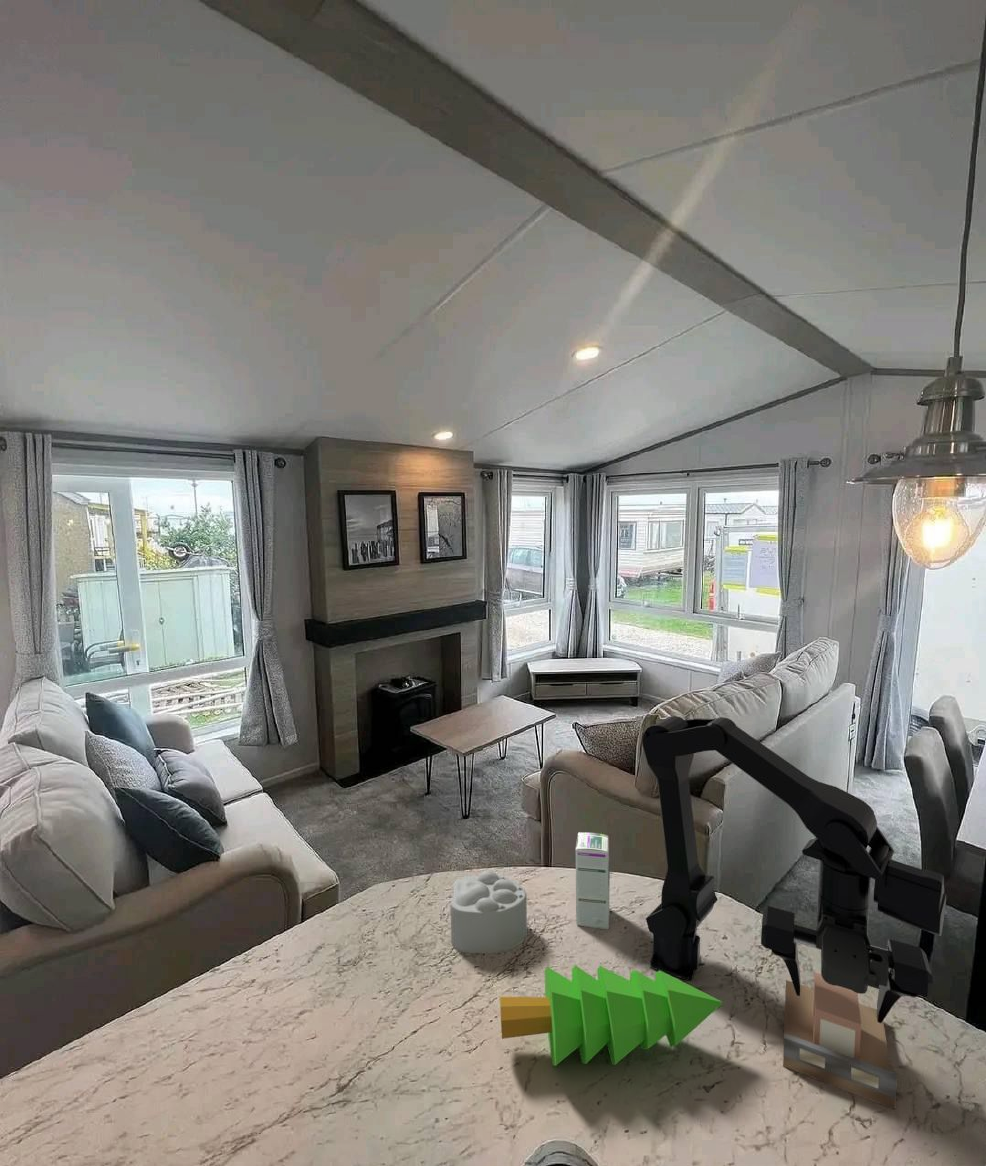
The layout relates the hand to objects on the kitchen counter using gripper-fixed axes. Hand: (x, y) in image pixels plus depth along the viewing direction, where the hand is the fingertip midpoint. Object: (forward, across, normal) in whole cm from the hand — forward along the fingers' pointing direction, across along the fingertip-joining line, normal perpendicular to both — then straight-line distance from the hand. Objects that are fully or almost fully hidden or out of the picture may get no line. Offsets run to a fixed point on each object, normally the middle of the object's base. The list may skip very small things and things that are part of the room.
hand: (837, 1006), depth 76 cm
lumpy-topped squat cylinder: (+6, -52, -2) cm, 52 cm away
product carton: (+5, 0, 0) cm, 5 cm away
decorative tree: (+6, -26, -14) cm, 31 cm away
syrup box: (+6, -37, +10) cm, 39 cm away
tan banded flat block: (+6, 0, +1) cm, 6 cm away
